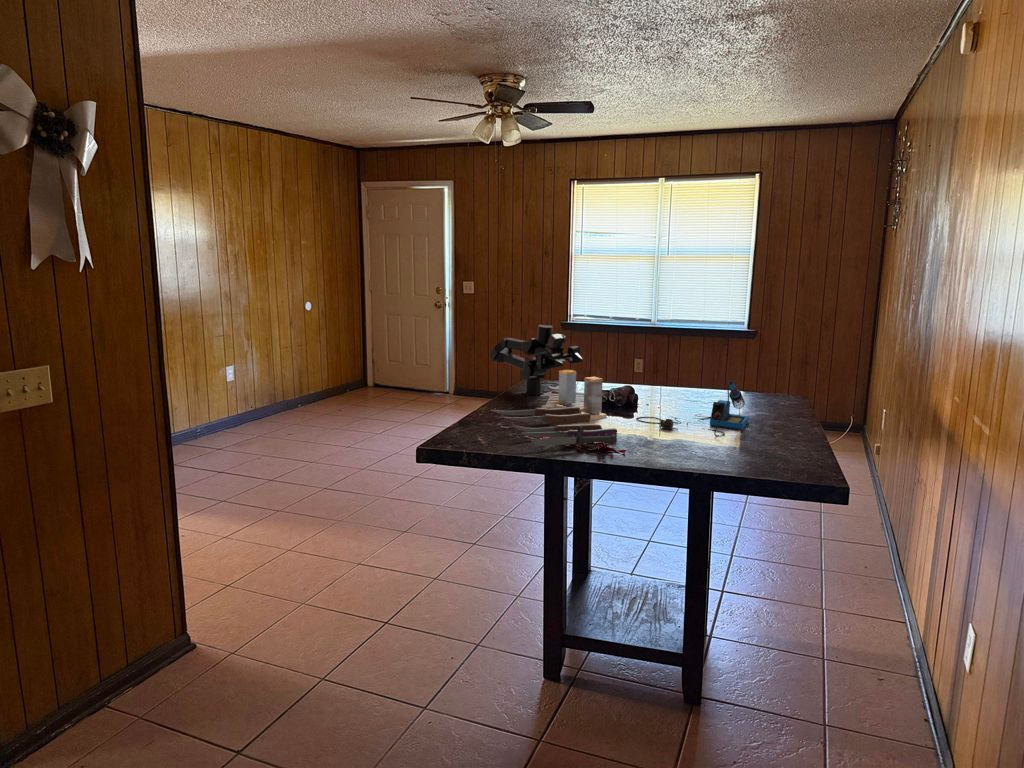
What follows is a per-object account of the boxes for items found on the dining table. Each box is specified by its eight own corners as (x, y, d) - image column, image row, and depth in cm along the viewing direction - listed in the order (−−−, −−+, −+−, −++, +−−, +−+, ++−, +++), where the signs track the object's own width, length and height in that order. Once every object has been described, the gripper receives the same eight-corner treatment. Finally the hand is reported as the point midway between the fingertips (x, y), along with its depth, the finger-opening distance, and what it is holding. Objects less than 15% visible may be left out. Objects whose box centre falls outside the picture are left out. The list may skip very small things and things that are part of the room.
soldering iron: (626, 426, 234) (629, 372, 230) (653, 408, 261) (656, 359, 257) (733, 441, 218) (738, 383, 214) (751, 420, 245) (755, 368, 241)
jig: (541, 408, 257) (542, 371, 254) (564, 405, 263) (565, 369, 260) (582, 421, 238) (583, 381, 236) (606, 417, 244) (607, 378, 242)
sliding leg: (547, 405, 254) (547, 372, 251) (567, 402, 259) (568, 369, 257) (554, 408, 250) (555, 373, 248) (575, 404, 256) (576, 371, 253)
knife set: (488, 423, 230) (489, 400, 229) (579, 420, 241) (581, 399, 240) (524, 455, 198) (526, 429, 196) (627, 451, 209) (630, 426, 207)
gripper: (528, 336, 264) (552, 345, 252) (567, 329, 274) (592, 337, 262) (528, 364, 268) (552, 374, 255) (566, 357, 278) (592, 366, 265)
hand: (572, 362), depth 259 cm, fingers open, 9 cm apart
